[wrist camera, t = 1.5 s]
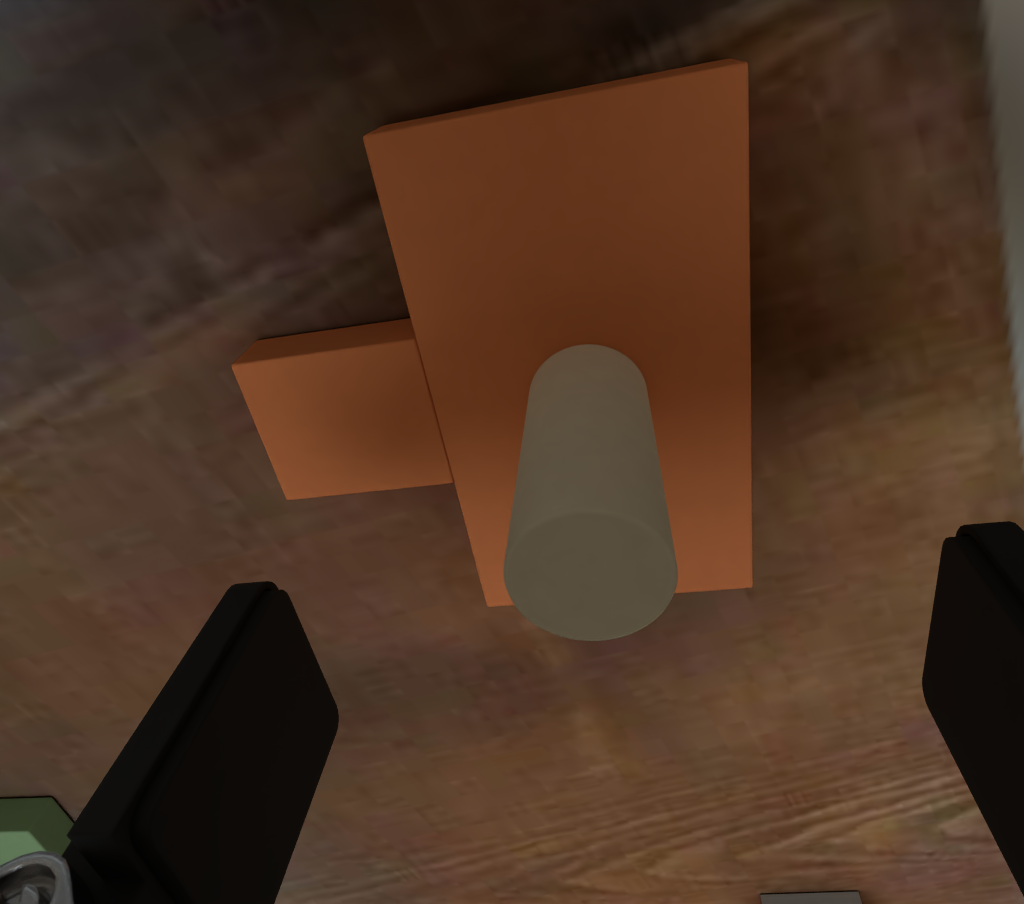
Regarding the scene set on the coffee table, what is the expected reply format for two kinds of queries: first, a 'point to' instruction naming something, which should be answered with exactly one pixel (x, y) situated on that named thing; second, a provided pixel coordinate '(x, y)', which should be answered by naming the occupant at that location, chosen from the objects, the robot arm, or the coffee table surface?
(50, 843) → the notch pad
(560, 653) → the coffee table surface
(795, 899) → the grey piece
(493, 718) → the coffee table surface
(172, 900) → the robot arm
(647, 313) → the tab pad
